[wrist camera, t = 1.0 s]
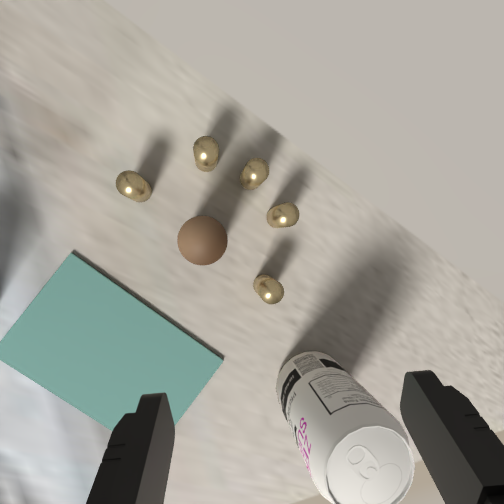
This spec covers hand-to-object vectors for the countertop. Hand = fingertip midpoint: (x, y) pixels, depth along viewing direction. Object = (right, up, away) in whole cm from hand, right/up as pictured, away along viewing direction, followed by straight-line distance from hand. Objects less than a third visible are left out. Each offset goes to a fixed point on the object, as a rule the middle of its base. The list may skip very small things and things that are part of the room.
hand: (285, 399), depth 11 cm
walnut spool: (-7, +6, +26) cm, 27 cm away
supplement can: (+6, -11, +28) cm, 31 cm away
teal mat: (-16, -6, +25) cm, 30 cm away
